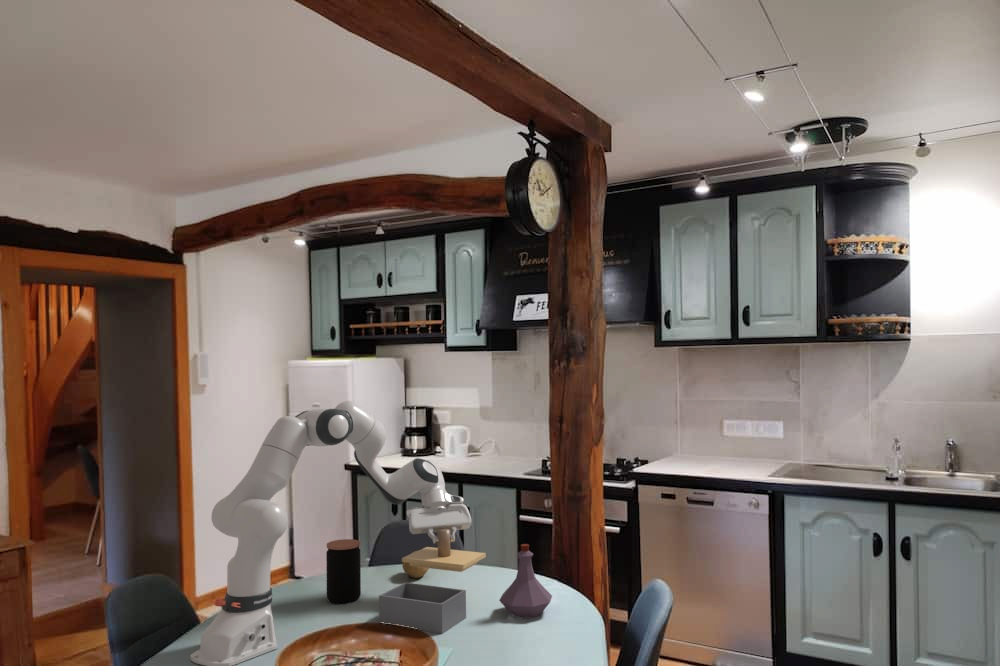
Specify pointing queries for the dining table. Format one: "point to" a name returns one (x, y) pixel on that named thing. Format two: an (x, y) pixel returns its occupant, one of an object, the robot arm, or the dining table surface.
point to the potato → (414, 570)
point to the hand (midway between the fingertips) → (444, 541)
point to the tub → (423, 607)
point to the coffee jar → (343, 571)
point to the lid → (444, 556)
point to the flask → (525, 590)
